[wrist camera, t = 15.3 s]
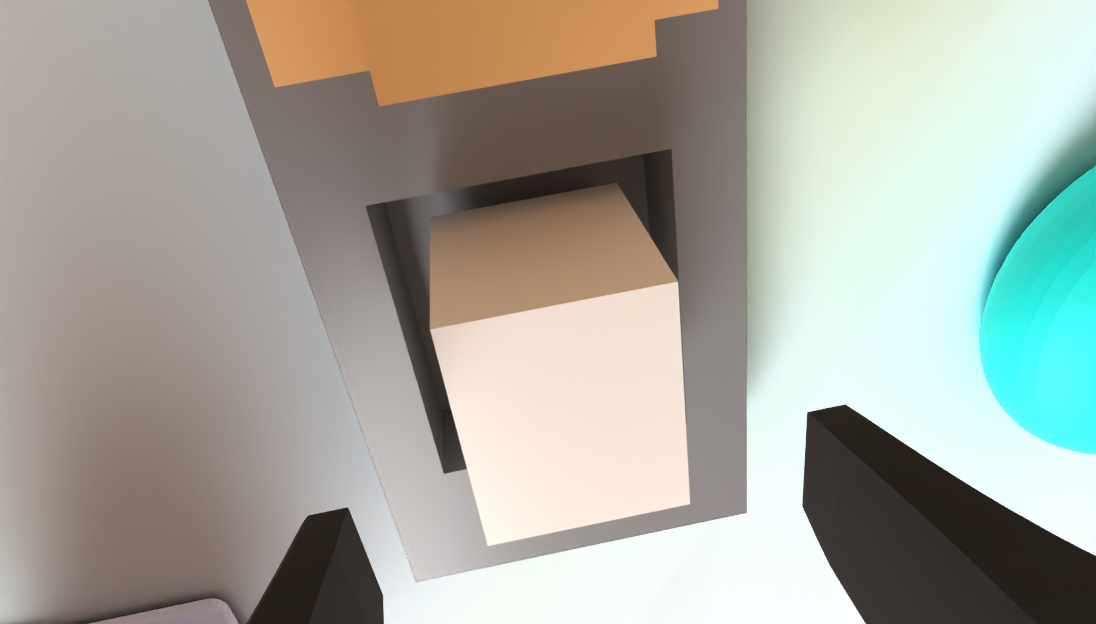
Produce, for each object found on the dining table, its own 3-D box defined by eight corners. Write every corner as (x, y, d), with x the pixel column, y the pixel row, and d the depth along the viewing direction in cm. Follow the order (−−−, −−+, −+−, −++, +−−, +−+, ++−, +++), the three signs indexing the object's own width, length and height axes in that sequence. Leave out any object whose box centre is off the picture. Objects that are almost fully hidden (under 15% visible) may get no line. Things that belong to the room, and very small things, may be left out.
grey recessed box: (710, 440, 22) (746, 512, 20) (417, 500, 22) (416, 582, 19) (678, -484, 12) (745, -583, 9) (122, -403, 12) (35, -483, 9)
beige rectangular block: (621, 339, 19) (690, 503, 14) (472, 368, 19) (487, 546, 14) (602, 159, 17) (677, 281, 12) (430, 191, 17) (430, 329, 12)
